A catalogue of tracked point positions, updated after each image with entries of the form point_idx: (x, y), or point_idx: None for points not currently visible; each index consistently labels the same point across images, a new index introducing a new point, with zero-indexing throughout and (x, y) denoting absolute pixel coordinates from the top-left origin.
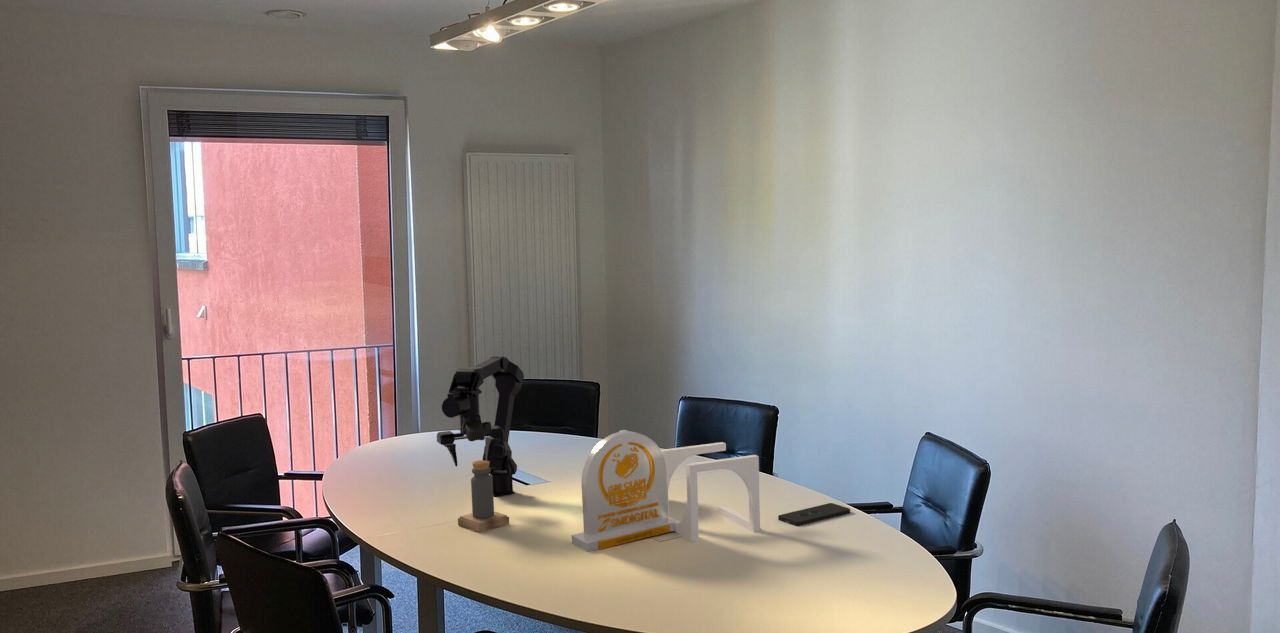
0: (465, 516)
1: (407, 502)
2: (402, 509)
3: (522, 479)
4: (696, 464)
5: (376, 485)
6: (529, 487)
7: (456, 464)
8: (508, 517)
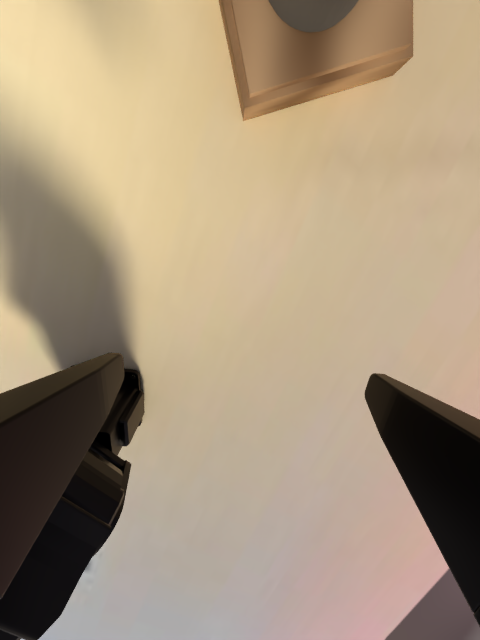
0: (392, 18)
1: (369, 443)
2: None
3: None
4: None
5: (351, 576)
6: None
7: (389, 379)
8: None
